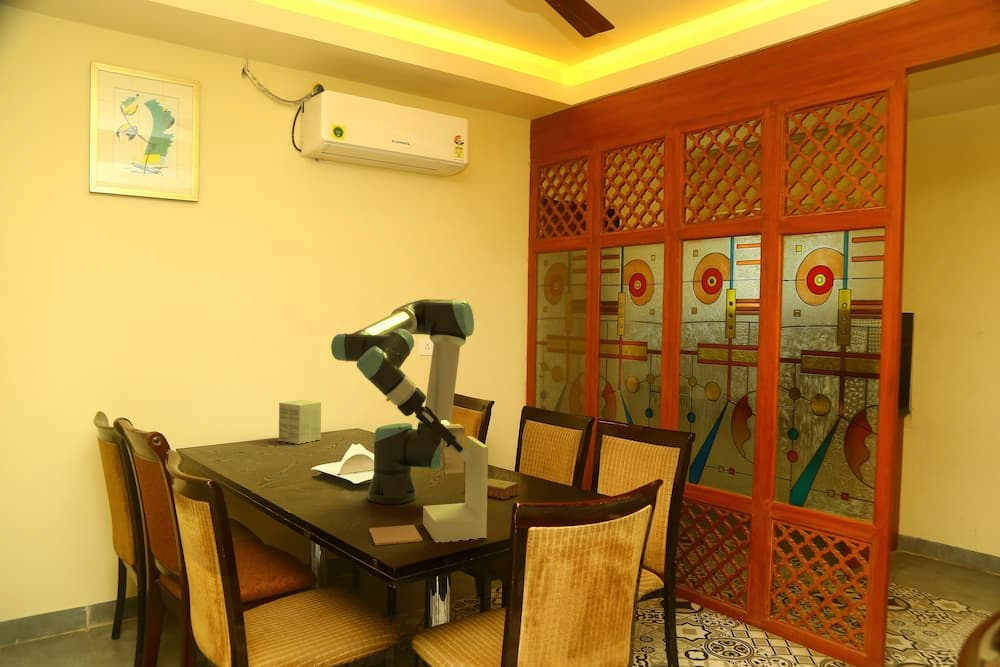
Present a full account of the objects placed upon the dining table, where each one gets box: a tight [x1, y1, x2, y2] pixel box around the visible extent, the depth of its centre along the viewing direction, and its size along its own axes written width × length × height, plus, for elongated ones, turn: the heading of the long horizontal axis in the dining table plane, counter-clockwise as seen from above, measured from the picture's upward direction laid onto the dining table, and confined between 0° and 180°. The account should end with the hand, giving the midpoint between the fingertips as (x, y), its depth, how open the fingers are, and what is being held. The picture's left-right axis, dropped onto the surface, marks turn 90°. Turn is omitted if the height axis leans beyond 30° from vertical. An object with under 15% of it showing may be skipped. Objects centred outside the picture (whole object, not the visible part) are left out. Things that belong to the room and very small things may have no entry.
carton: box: [487, 477, 519, 500], centre depth 219 cm, size 8×16×4 cm, turn 57°
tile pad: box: [368, 524, 424, 546], centre depth 175 cm, size 12×12×1 cm
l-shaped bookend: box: [422, 435, 489, 544], centre depth 179 cm, size 16×14×24 cm
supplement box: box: [278, 399, 322, 445], centre depth 299 cm, size 13×13×18 cm
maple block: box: [441, 423, 466, 474], centre depth 179 cm, size 6×5×12 cm
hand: (465, 455), depth 180 cm, fingers closed on maple block, 5 cm apart
